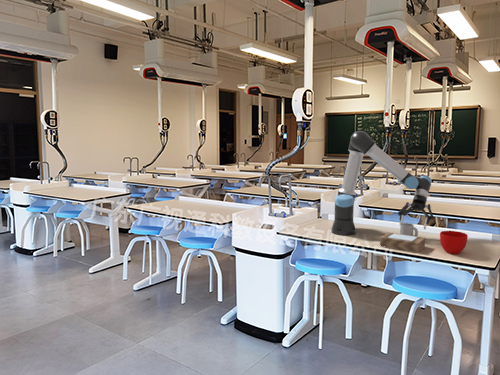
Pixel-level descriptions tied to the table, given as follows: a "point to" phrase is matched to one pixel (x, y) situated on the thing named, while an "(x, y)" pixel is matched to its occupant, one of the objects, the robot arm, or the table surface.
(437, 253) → the table surface
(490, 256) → the table surface
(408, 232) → the cup
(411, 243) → the plinth
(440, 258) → the table surface
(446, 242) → the ceramic cup
